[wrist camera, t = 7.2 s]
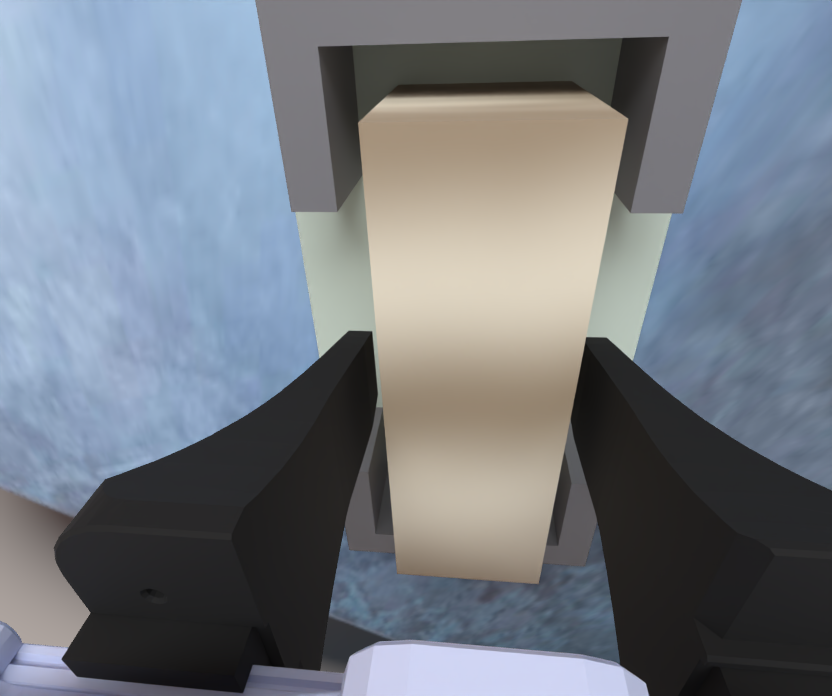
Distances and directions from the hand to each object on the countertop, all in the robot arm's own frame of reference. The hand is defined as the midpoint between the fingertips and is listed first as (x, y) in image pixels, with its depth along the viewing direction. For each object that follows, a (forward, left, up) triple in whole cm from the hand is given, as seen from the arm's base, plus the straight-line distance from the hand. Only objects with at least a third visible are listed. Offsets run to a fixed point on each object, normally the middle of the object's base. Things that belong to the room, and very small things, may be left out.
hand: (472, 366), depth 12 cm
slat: (0, 0, -3) cm, 3 cm away
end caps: (0, 0, -4) cm, 4 cm away
